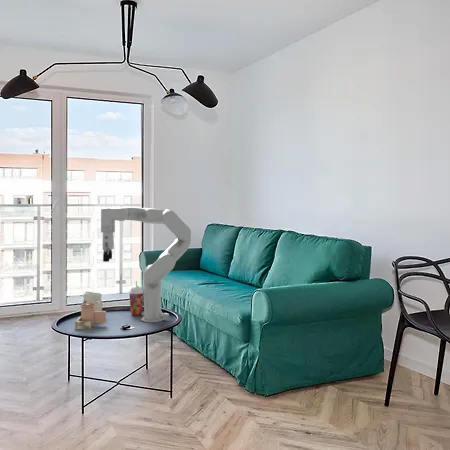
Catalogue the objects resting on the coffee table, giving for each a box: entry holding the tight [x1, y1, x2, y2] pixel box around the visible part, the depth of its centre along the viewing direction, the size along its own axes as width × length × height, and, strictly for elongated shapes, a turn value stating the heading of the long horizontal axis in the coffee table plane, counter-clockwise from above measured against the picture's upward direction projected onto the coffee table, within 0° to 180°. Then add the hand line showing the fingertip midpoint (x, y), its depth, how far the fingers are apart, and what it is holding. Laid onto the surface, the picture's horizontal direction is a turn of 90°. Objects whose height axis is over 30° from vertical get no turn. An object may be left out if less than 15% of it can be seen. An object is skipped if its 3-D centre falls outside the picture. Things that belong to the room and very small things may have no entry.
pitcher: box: [82, 291, 103, 311], centre depth 291 cm, size 11×18×14 cm, turn 39°
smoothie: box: [128, 280, 144, 317], centre depth 299 cm, size 8×8×20 cm
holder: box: [74, 315, 92, 330], centre depth 274 cm, size 8×11×4 cm
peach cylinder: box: [80, 302, 107, 328], centre depth 274 cm, size 13×8×12 cm, turn 95°
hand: (107, 260), depth 282 cm, fingers open, 9 cm apart
